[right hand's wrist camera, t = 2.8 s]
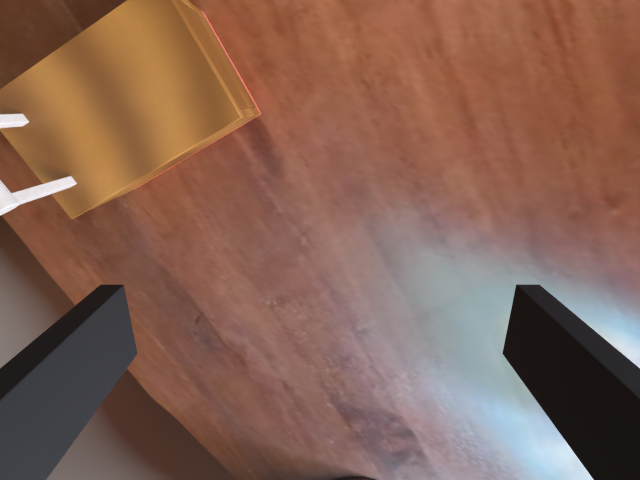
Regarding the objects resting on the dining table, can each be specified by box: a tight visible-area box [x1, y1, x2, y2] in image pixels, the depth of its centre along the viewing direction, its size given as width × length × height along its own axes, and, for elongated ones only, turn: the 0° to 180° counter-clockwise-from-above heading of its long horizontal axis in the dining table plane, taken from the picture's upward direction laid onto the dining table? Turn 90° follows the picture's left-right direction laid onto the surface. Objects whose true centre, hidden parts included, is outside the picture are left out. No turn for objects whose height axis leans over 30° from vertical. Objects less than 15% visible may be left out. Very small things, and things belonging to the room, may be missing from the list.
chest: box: [88, 0, 262, 211], centre depth 33 cm, size 16×10×9 cm, turn 119°
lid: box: [0, 0, 244, 219], centre depth 24 cm, size 16×10×9 cm, turn 119°
